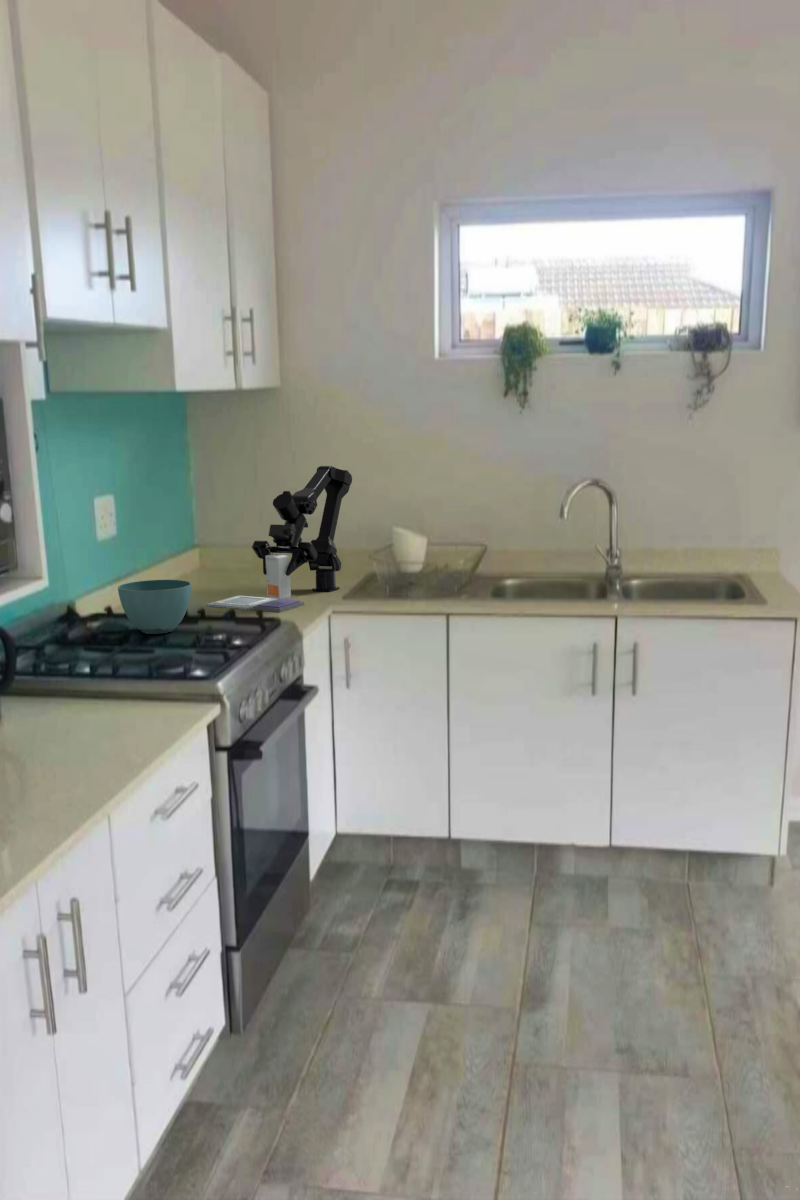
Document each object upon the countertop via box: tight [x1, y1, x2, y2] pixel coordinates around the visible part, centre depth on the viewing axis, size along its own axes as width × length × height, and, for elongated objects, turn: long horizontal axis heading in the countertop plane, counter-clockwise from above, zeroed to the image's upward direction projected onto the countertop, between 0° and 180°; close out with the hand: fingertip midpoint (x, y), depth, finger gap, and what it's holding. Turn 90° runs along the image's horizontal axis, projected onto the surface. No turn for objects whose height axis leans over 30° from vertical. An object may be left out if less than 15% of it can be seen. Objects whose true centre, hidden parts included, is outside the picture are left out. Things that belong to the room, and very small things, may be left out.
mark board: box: [206, 594, 277, 611], centre depth 303 cm, size 15×15×1 cm
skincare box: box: [265, 553, 292, 599], centre depth 294 cm, size 6×4×12 cm
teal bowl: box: [117, 579, 192, 629], centre depth 265 cm, size 18×18×12 cm
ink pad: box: [253, 598, 305, 613], centre depth 296 cm, size 12×9×1 cm
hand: (275, 574), depth 293 cm, fingers closed on skincare box, 7 cm apart
